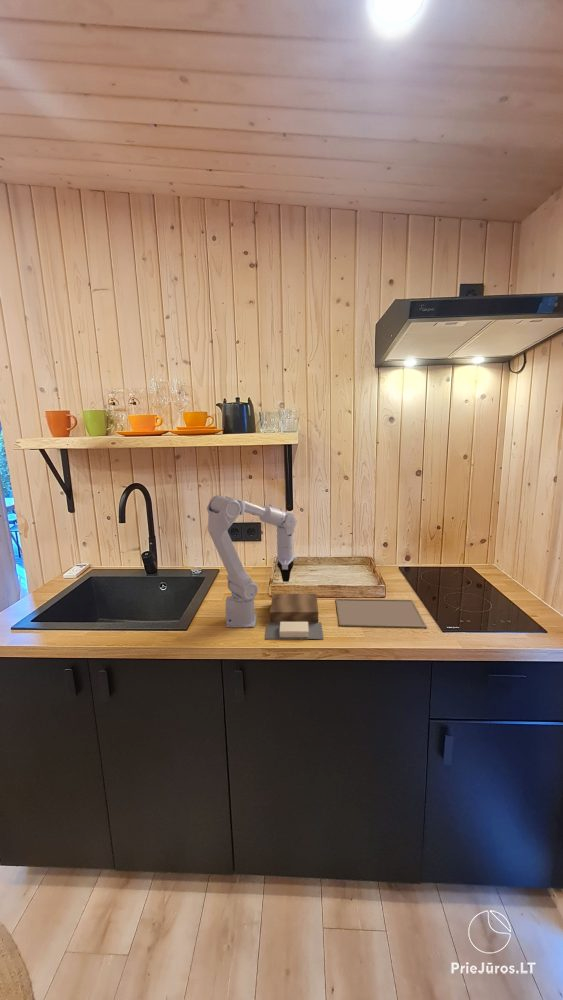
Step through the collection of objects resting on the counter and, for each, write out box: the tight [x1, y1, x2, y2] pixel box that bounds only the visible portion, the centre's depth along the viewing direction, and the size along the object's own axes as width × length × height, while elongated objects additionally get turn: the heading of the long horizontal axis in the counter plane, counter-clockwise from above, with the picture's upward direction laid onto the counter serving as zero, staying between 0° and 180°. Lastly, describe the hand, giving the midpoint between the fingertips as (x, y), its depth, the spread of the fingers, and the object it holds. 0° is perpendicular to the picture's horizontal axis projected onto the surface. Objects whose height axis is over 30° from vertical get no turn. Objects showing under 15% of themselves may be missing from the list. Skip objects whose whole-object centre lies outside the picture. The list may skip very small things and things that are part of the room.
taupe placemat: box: [335, 598, 428, 629], centre depth 140 cm, size 19×1×28 cm
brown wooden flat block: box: [269, 593, 319, 622], centre depth 141 cm, size 16×14×4 cm
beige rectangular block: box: [280, 622, 309, 637], centre depth 128 cm, size 9×6×2 cm, turn 88°
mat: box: [264, 621, 324, 641], centre depth 130 cm, size 18×10×1 cm, turn 88°
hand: (285, 581), depth 145 cm, fingers closed
